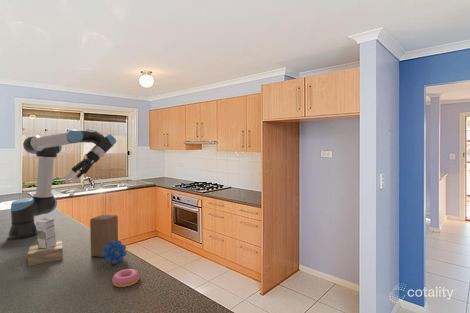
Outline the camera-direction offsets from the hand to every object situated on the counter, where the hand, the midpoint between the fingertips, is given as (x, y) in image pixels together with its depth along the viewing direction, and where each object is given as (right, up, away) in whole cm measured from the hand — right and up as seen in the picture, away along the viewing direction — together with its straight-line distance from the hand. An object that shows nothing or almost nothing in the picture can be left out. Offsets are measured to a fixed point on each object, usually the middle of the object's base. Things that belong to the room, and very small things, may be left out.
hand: (68, 180), depth 157 cm
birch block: (0, -39, -18) cm, 43 cm away
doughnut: (+51, -40, -43) cm, 78 cm away
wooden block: (+28, -38, -13) cm, 49 cm away
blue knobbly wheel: (+40, -39, -27) cm, 61 cm away
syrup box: (0, -33, -18) cm, 37 cm away
